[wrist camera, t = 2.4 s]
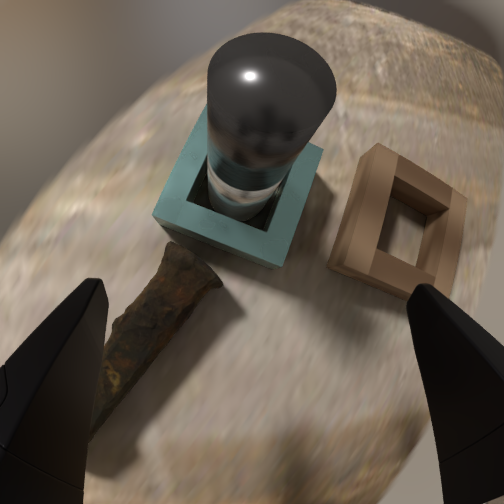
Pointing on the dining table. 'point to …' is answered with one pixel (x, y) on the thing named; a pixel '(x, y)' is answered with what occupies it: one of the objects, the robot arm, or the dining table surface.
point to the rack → (372, 216)
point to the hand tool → (150, 326)
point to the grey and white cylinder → (261, 117)
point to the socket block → (224, 228)
